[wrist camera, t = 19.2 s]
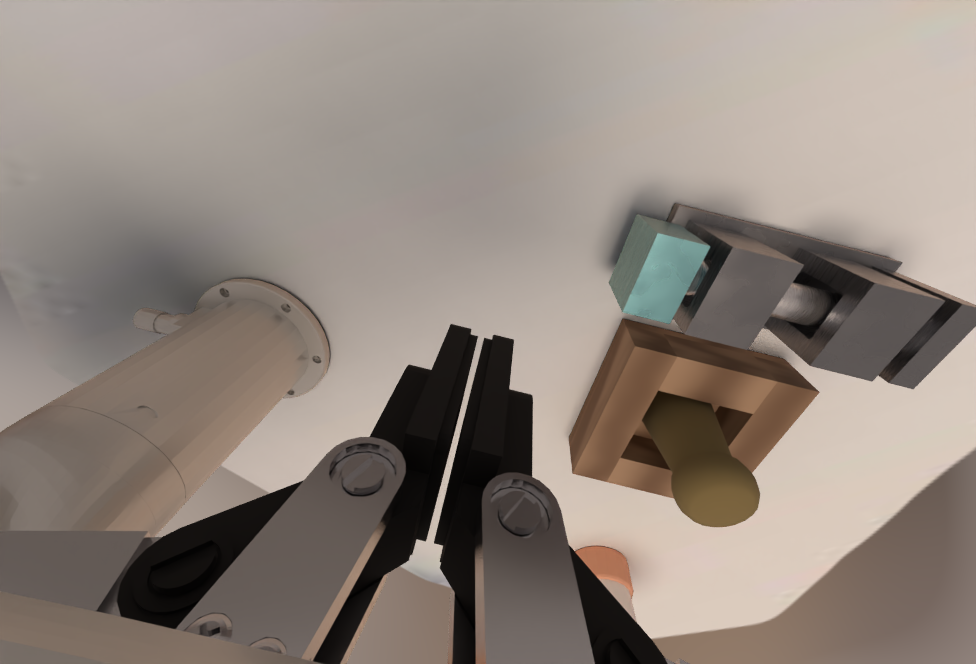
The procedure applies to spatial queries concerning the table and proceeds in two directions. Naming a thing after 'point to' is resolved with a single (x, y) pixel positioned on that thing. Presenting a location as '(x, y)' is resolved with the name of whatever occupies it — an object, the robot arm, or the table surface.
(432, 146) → the table surface
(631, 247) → the steel shaft
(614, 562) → the salt shaker
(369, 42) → the table surface
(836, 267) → the shaft bracket
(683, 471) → the olive brown pear shape
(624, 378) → the walnut holder
